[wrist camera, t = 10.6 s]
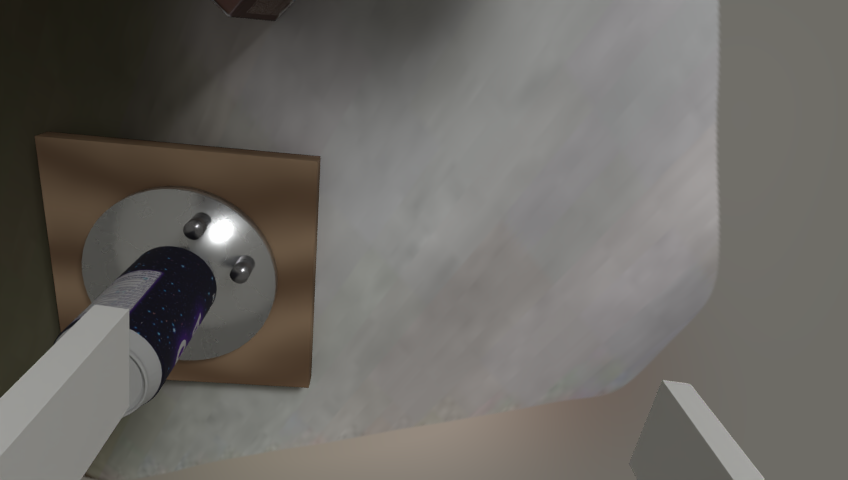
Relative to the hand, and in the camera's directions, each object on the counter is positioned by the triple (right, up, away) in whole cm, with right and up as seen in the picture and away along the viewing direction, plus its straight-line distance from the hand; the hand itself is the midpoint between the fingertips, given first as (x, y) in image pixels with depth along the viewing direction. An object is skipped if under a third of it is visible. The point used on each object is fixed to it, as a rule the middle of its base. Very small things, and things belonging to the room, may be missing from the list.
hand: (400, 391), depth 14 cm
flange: (-16, +1, +27) cm, 31 cm away
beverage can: (-16, +1, +26) cm, 31 cm away
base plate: (-16, +2, +28) cm, 33 cm away
